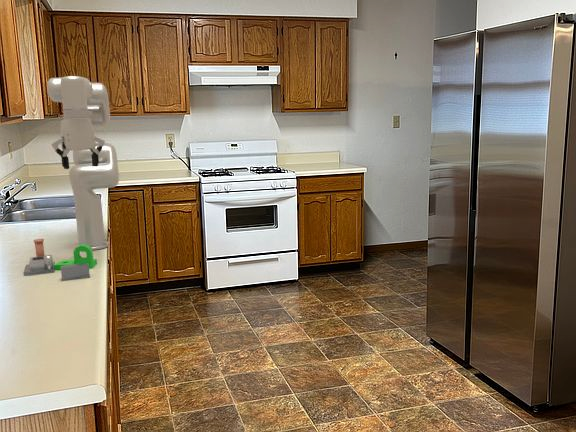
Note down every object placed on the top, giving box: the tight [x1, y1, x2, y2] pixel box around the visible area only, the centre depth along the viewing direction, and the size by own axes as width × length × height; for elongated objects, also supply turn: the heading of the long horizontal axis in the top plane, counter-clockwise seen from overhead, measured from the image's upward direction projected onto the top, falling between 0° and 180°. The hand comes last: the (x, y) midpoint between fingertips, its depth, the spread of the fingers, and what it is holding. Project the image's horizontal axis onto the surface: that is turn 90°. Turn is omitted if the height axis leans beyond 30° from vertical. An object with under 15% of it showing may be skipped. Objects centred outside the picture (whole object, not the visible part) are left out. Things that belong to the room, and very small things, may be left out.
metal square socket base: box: [23, 254, 56, 277], centre depth 186 cm, size 10×9×5 cm
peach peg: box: [32, 238, 46, 257], centre depth 193 cm, size 3×3×9 cm
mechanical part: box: [54, 245, 98, 271], centre depth 189 cm, size 12×6×8 cm, turn 93°
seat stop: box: [60, 263, 91, 282], centre depth 176 cm, size 3×8×4 cm, turn 110°
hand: (81, 167), depth 190 cm, fingers open, 9 cm apart
